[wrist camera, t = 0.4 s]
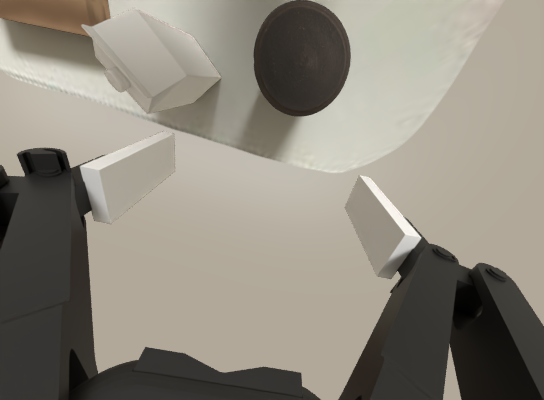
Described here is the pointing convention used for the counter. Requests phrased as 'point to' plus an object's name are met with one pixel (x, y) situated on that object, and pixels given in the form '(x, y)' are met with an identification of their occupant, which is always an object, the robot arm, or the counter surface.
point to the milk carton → (152, 60)
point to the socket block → (57, 13)
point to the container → (301, 57)
